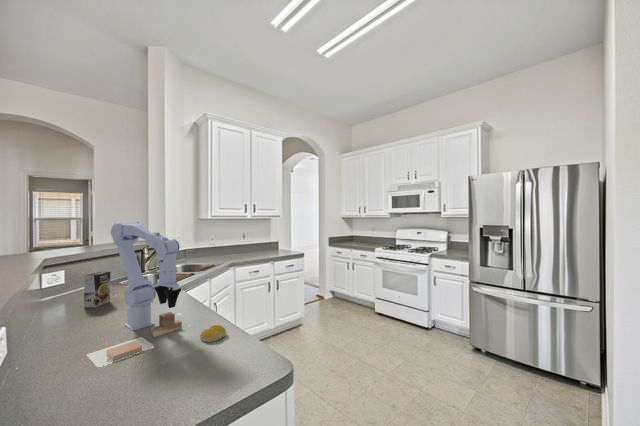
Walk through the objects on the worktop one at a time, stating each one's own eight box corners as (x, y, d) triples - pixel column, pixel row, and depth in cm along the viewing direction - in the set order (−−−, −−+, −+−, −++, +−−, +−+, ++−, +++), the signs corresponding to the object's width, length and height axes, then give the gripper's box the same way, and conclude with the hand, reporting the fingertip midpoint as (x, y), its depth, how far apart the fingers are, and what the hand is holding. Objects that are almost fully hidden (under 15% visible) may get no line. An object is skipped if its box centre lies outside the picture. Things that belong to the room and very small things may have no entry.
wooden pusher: (150, 335, 102) (150, 317, 102) (177, 326, 110) (177, 309, 110) (155, 338, 100) (155, 319, 100) (182, 329, 108) (182, 311, 108)
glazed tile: (106, 350, 87) (113, 356, 83) (134, 340, 94) (142, 346, 90) (106, 354, 87) (113, 361, 83) (134, 345, 94) (142, 350, 90)
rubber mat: (86, 355, 87) (86, 354, 87) (141, 337, 100) (141, 336, 100) (97, 368, 79) (97, 368, 79) (156, 347, 92) (156, 347, 92)
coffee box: (96, 307, 132) (96, 275, 132) (83, 307, 132) (83, 275, 132) (110, 301, 141) (111, 271, 141) (98, 301, 141) (99, 271, 141)
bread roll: (195, 341, 98) (195, 330, 98) (213, 331, 106) (213, 321, 106) (213, 345, 95) (213, 334, 95) (230, 334, 103) (230, 324, 103)
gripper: (148, 270, 106) (148, 304, 106) (165, 275, 98) (164, 312, 97) (167, 267, 112) (167, 299, 112) (184, 271, 103) (184, 306, 103)
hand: (167, 305), depth 105 cm, fingers open, 7 cm apart
